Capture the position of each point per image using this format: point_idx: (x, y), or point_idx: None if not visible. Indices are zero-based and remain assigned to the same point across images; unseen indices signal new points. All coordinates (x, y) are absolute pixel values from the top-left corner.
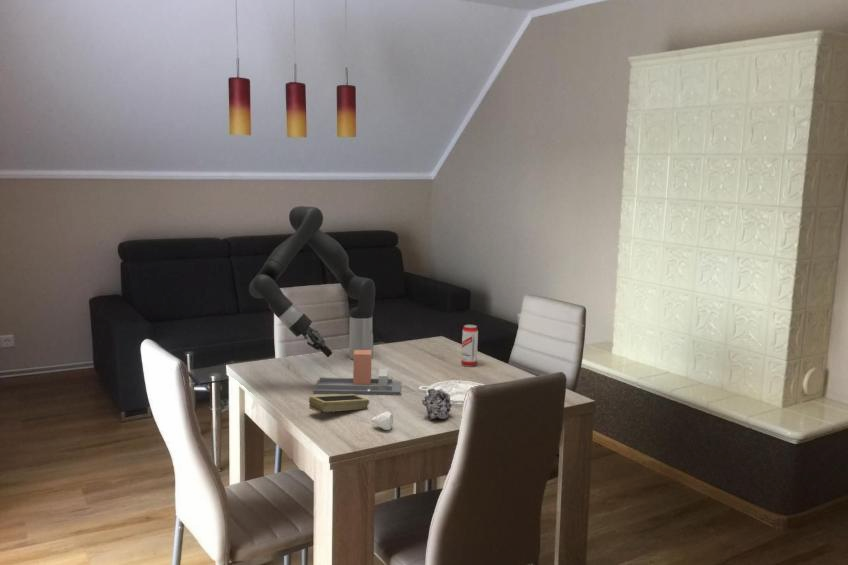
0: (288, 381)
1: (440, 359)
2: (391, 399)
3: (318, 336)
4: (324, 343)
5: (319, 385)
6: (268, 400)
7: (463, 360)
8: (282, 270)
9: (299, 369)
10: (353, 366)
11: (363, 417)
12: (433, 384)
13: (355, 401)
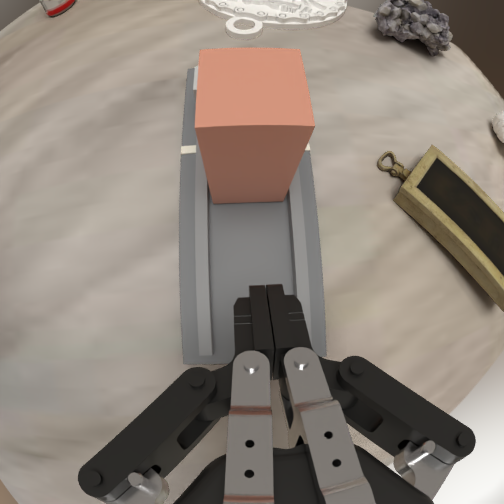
0: (179, 463)
1: (11, 56)
2: (336, 95)
3: (272, 449)
4: (259, 361)
5: (310, 338)
6: (388, 465)
7: (62, 3)
8: None
9: (45, 427)
10: (299, 162)
11: (472, 172)
12: (234, 8)
13: (471, 180)
